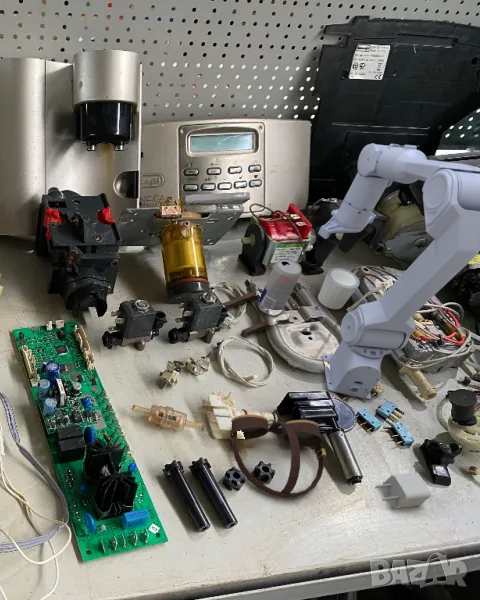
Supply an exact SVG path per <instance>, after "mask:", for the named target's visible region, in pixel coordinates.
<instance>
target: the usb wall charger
mask: <svg viewBox="0 0 480 600" xmlns="http://www.w3.org/2000/svg"><path fill="white" fill-rule="evenodd" d="M374 489H382V491H384V494H385V495H386V497H383V498H382V500H381V501H383V502H384V501H385V502H386V501H389V502H390V504H391V506H392V507H394V508H395V509H397V508H399V509H400V508H406V507H415V506H421V505H422V504H424V503H425V502H426V501H427V500H428V499H430V497H431V496H432V492H431V490H430V489H429V487H428V486H427V483H426V482H425V481H424V480H423V477H422V476H421V474H419V472H411V473H409V472H408V473H401V474H392V475H389V477H388V478H387V479H386V480H385V481H384V482H383V483H382V484H378V485H376V486H375V488H374Z"/></svg>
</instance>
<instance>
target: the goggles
mask: <svg viewBox="0 0 480 600" xmlns="http://www.w3.org/2000/svg"><path fill="white" fill-rule="evenodd" d="M230 420H231V421H230V423H231V422H232V424H231V425H232V430H231V429H230V436H229V438H231V439H232V441H231V442H232V443H231V444H232V445H231V446H232V447H231V448H232V452H233V456H234V460H235V462H236V464H237V466H238V468H239V470H240V471H241V473H242V474H243V476H244V477H245V478H246V480H247V481H248V482H249V483H251V484H252V485H253V486H254V487H256V488H257V489H258V490H261V492H264V493H265V494H268V495H270V496H274V497H278V498H282V499H294V498H299V497H301V496H304V495H307V494H308V493H309V492H311V491H312V490H313V489H315V488H316V486H317V485H318V483H319V481H321V478H322V476H323V472H324V468H325V463H326V462H325V458H326V457H327V452H326V448H324V447H323V444H324V439H323V437H322V436H323V435H322V433H321V431H320V429H319V428H320V426H319V424H318V422H315V421H314V420H309V419H295V420H289V421H286V422H284V421H283V422H281V421H279V422H277V421H276V420H275V419H269V420H268V418H267V417H265V416H263V415H259V414H249V413H248V414H241V415H237V416H235V417H233V418H231V419H230ZM269 422H273V423H272V424H271V425H270V426H269ZM240 430H241V431H242V432H244V433H243V434H244V437H245V440H244V441H247V440H253V439H259V438H261V437H264V436H265V435H267V434H268V433H273V434H278V435H281V438H282V440H283V441H284V442H285V443H287V444H288V445H289V446H290V469H289V474H288V477H287V481H286V483H285V485H284V487H283V489H282V490H281V491H278V490H274V489H273V488H270V487H268V486H266V485H264V484H263V483H262V482H261V481H259V480H258V479H257V478H256V477H254V475H252V473H251V472H250V471H249V469H248V468H247V467H246V466H245V464H244V461H243V459H242V456H241V455H240V451H239V446H238V440H237V431H240ZM232 434H233V435H232ZM313 447H315V450H316V451H315V457H316V458H315V459H316V460H317V467H318V468H317V471H316V474H315V478H314V479H313V480H312V482H311V484H310V485H309V486H308V487H306V488H305V489H304V490H301V491H299V492H293V491H294V489H295V487H296V485H297V482H298V478H299V475H300V470H301V448H313Z"/></svg>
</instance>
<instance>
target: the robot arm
mask: <svg viewBox="0 0 480 600" xmlns="http://www.w3.org/2000/svg"><path fill="white" fill-rule="evenodd" d="M417 148H418V146H417V145H413V144H412V145H411V144H404V145H403V147H400V144H397V143H390V144H389V145H384V144H376V143H373V142H372V143H369V144H366V145H364V147H362V150H361V151H360V153H359V156H358V159H357V173H356V175H355V177H354V179H353V181H352V183H351V185H350V186H349V189H348V191H347V193H346V194H345V196H344V198H343V200H342V202H341V204H340V206H339V208H336V209H333V210H332V211H331V213H330V214H331V218H330V219H329V220H328V221H327V222H326V223H325V224H324V225H323V224H322V225H319V226H317V227H316V229H315V230H314V234H315V241H316V243H315V251H314V255H313V257H314V259H315V260H316V261H318V262H319V263H324V262H325V261H326V260H327V259H328V258H329V256H330V254H331V253H332V252H333V251H334V250H335V248H337V249H338V250H340V252H342V253H344V254H345V255H346V254H348V253H349V252H350V251H351V250H352V249H353V248H354V247H355V246H356V245H357V244H358V243H359V242H361V240H363V239H364V238H366V237H367V236H368V235H371V234H372V233H373V232H374V227H372V226H371V225H370V224H373V222H374V220H375V219H376V217H377V214H375V213H374V212H373V211H374V209H375V207H376V206H377V203H378V202H379V201H380V198H381V196H382V195H383V194H384V191H385V189H387V188H389V187H391V186H392V184H393V182H396V183H400V184H404V185H407V184H409V185H410V184H413V183H415V182H417V181H422V182H424V183H423V186H422V189H421V191H422V201H423V212H424V225H425V232H426V233H427V234H428V235H429V236H430V237H432V238H433V240H432V241H431V242H430V244H429V245H428V246H427V247H426V248H425V249H424V250H423V251H422V252H421V254H419V255H418V257H417V258H416V259H415V260H414V261H413V262H412V263H411V265H409V266H408V267H407V269H406V270H405V271H404V272H403V273H401V275H400V276H399V277H398V278H397V279H396V280H395V281H394V282H393V284H392V285H391V286H390V287H389V288H388V289H387V290H386V291H385V292H384V293H383V295H381V297H380V298H379V299H377V300H374V301H369V302H366V303H363V304H359V305H358V306H357V307H356V308H355V309H353V310H349V311H348V312H347V313H345V315H344V317H343V318H342V319H341V323H340V324H341V325H340V336H341V338H342V340H341V341H340V343H339V345H338V346H337V348H336V349H335V351H334V353H332V354H330V353H326V352H323V353H322V362H323V361H325V360H326V361H329V360H330V361H329V362H330V370H329V368H328V367H327V366H326V367H324V366H323V368H324V375H325V380H326V387H327V390H328V391H330V392H333V393H338V394H342V395H347V396H351V397H356V398H361V399H364V400H371V399H372V393H371V392H372V390H373V389H374V388H375V387H376V386H377V384H378V382H379V381H380V380H381V378H382V371H381V363H382V361H383V358H384V356H387V355H390V354H391V353H392V351H400V350H402V349H403V348H405V346H406V345H407V344H408V342H409V340H410V337H411V335H412V334H413V333H414V332H415V331H416V322H415V318H414V315H415V314H416V313H417V312H418V311H419V310H420V309H422V308H423V307H424V306H425V305H426V304H427V303H428V302H429V301H430V300H431V299H432V298H433V297H434V296H436V294H437V293H438V292H439V291H440V290H442V289H443V288H444V287H445V286H446V285H447V284H448V283H449V282H450V281H451V280H452V279H453V278H454V277H455V276H456V275H457V274H459V273H460V272H461V271H462V270H463V269H464V268H465V267H466V266H467V265H468V264H469V263H470V262H471V261H472V260H474V258H475V257H476V256H478V254H479V252H480V167H478V166H474V165H470V164H466V163H458V162H451V161H450V162H449V161H443V160H433V159H428V158H427V156H426V154H425V153H424V152H422V151H421V150H419V149H417ZM337 234H342V236H341V238H338V237H337V236H338V235H337Z"/></svg>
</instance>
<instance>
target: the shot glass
mask: <svg viewBox="0 0 480 600" xmlns="http://www.w3.org/2000/svg"><path fill="white" fill-rule="evenodd" d="M360 283H361V282H360V279H359V277H358V276H357V275H356V274H355V273H353V272H352V271H351V270H349V269H346V268H341V267H331V268H330V269H328V271H327V273H326V276H325V278H324V280H323V283H322V285H321V287H320V290H319V293H318V295H317V299H318V301H319V303H320V304H321V305H322V306H324V307H325V308H328V309H331V310H340V309H342V308H343V307H344V306H345V304H346V303H347V302H348V300H349V299H350V298H351V297H352V295H353V294H354V293H355V291H356V290H357V289H358V287H359V286H360Z"/></svg>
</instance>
